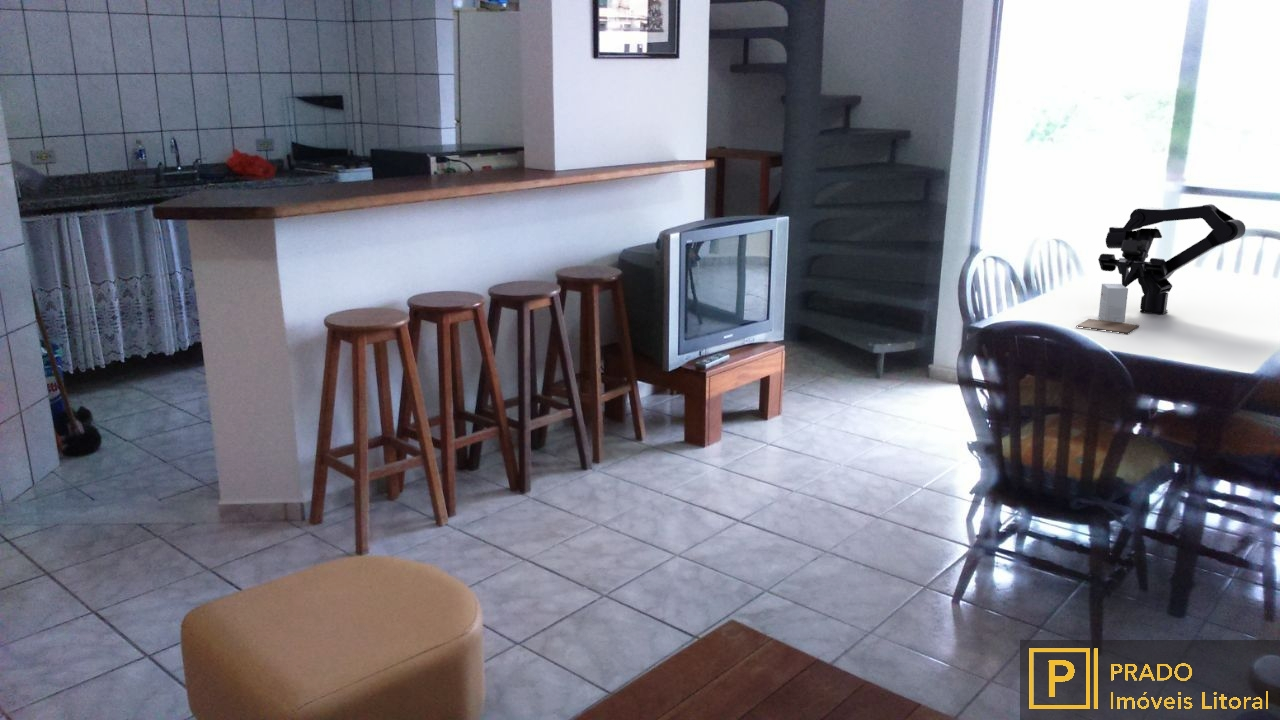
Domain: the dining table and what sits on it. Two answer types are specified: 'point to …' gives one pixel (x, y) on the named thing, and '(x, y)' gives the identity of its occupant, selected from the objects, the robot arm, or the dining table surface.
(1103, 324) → the walnut board
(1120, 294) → the small box
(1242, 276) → the dining table surface
